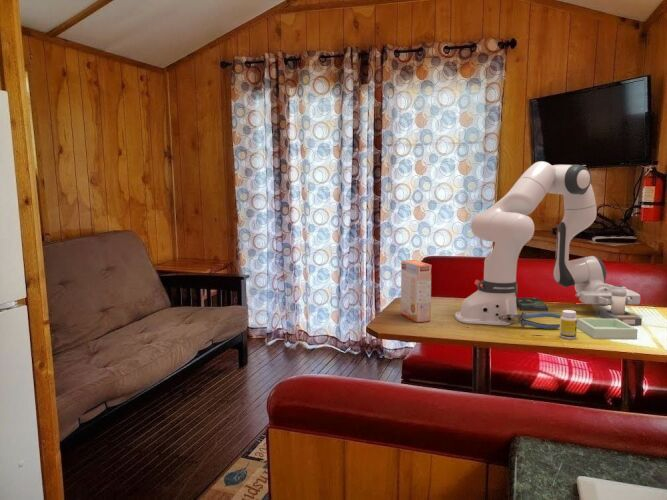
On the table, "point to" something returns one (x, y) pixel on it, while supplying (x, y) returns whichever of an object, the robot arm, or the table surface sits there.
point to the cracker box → (416, 290)
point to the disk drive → (531, 304)
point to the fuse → (618, 301)
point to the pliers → (521, 320)
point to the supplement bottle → (568, 324)
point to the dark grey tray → (622, 317)
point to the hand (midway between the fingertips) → (619, 302)
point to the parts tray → (606, 328)
